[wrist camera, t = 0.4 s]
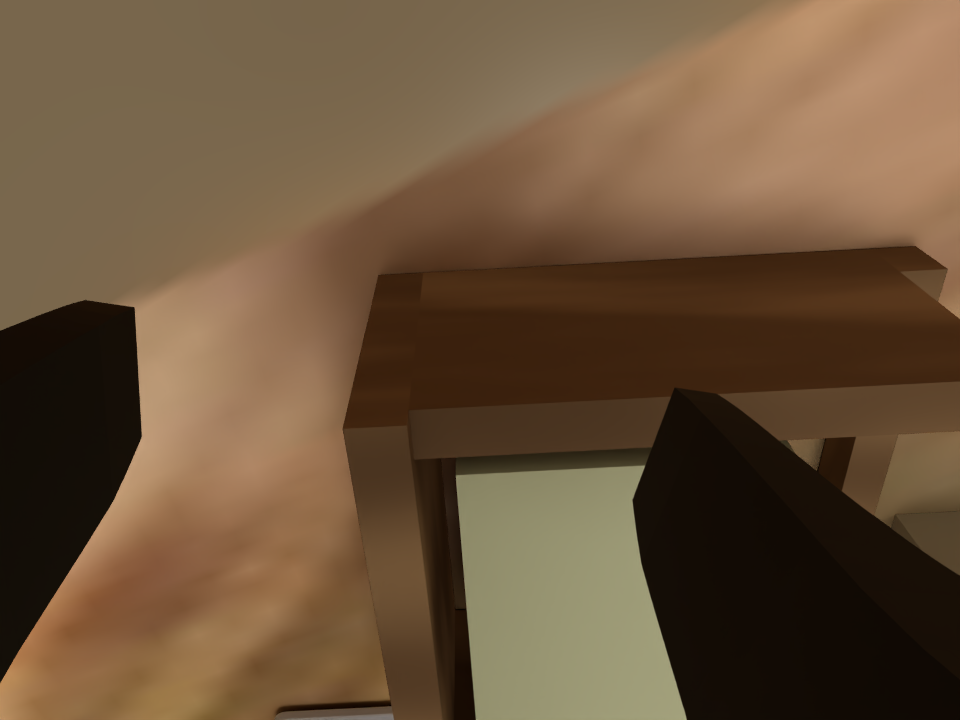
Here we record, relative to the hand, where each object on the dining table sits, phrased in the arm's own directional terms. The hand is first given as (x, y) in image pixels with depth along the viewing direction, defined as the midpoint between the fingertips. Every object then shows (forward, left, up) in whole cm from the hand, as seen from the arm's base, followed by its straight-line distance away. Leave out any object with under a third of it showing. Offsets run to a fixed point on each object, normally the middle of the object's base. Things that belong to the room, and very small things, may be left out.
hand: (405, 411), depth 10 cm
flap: (-9, -4, -4) cm, 11 cm away
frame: (-9, -6, -10) cm, 15 cm away
